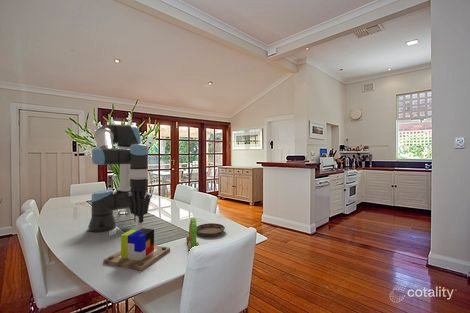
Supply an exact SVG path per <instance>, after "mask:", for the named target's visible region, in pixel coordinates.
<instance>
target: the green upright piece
mask: <svg viewBox="0 0 470 313" xmlns="http://www.w3.org/2000/svg"><path fill="white" fill-rule="evenodd" d="M197 226H198V225H197V220H196V217H191V218H190V222H189V227H188V235H186V238H185V239H186V244H187V250H188V251H189V250H190V249H191V248H192V247H194V246H198V245H199V244H200V243H199V241H197V235H198V233H197ZM199 246H200V245H199ZM191 250H192V249H191ZM189 252H190V251H189Z"/></svg>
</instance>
